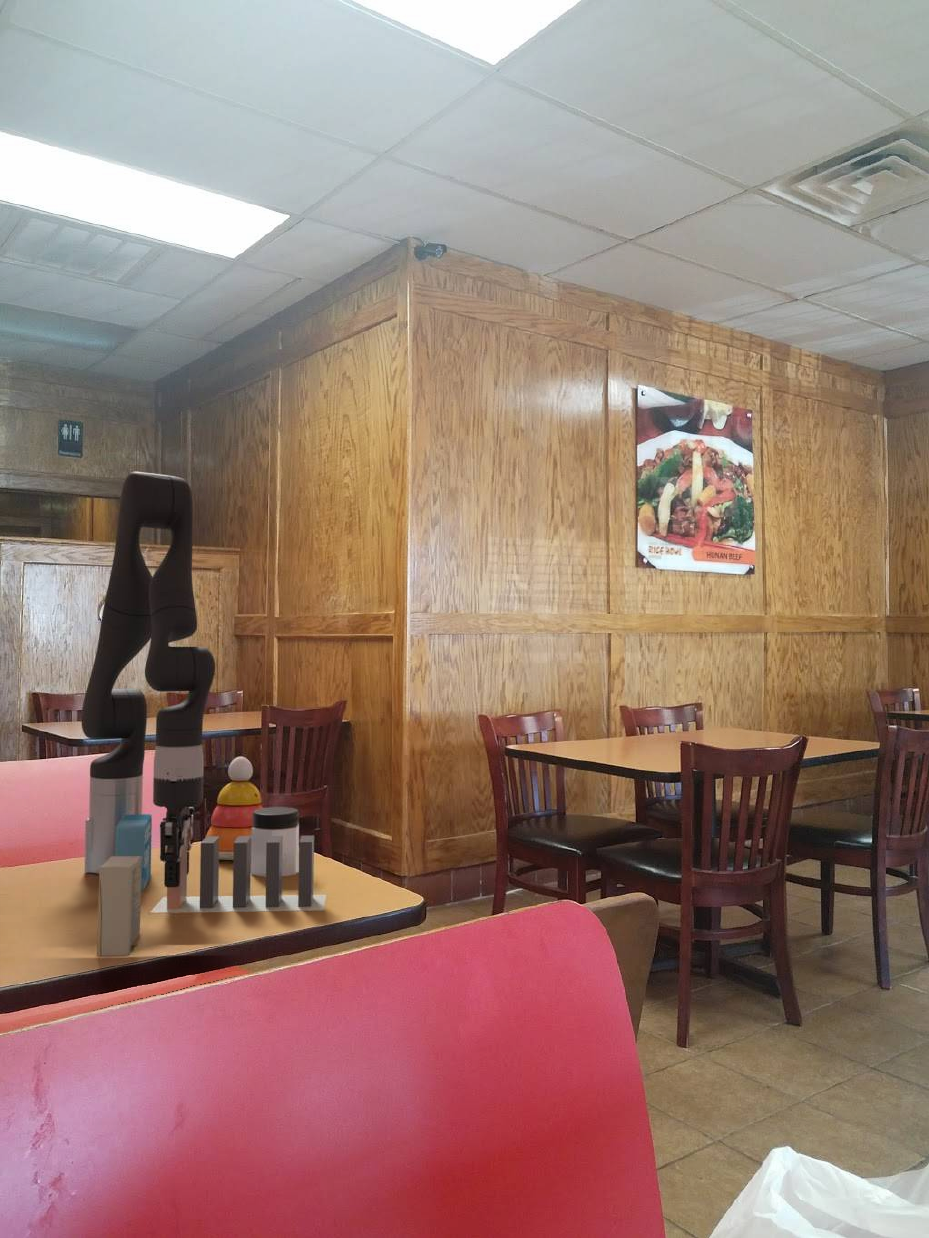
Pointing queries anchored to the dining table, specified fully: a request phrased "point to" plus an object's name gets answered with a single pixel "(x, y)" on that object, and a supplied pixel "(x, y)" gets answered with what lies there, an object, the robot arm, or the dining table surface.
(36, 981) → the dining table surface
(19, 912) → the dining table surface
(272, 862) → the tile
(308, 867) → the tile
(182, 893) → the brick tile
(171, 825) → the robot arm
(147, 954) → the dining table surface
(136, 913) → the skincare box
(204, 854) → the tile
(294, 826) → the jar
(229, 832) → the stacking toy
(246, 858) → the tile
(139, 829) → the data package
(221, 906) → the white flat strip
